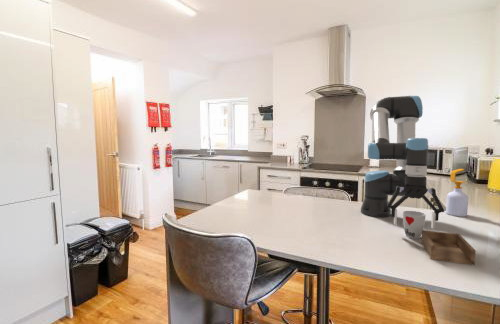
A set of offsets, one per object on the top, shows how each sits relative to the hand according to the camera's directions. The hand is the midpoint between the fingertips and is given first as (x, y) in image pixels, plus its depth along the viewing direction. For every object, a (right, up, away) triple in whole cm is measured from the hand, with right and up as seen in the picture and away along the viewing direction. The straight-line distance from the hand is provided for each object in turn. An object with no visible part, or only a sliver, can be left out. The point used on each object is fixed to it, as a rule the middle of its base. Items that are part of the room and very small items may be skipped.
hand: (413, 226), depth 112 cm
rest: (+2, -6, -15) cm, 16 cm away
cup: (0, -5, +1) cm, 5 cm away
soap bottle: (+43, -2, +33) cm, 54 cm away
